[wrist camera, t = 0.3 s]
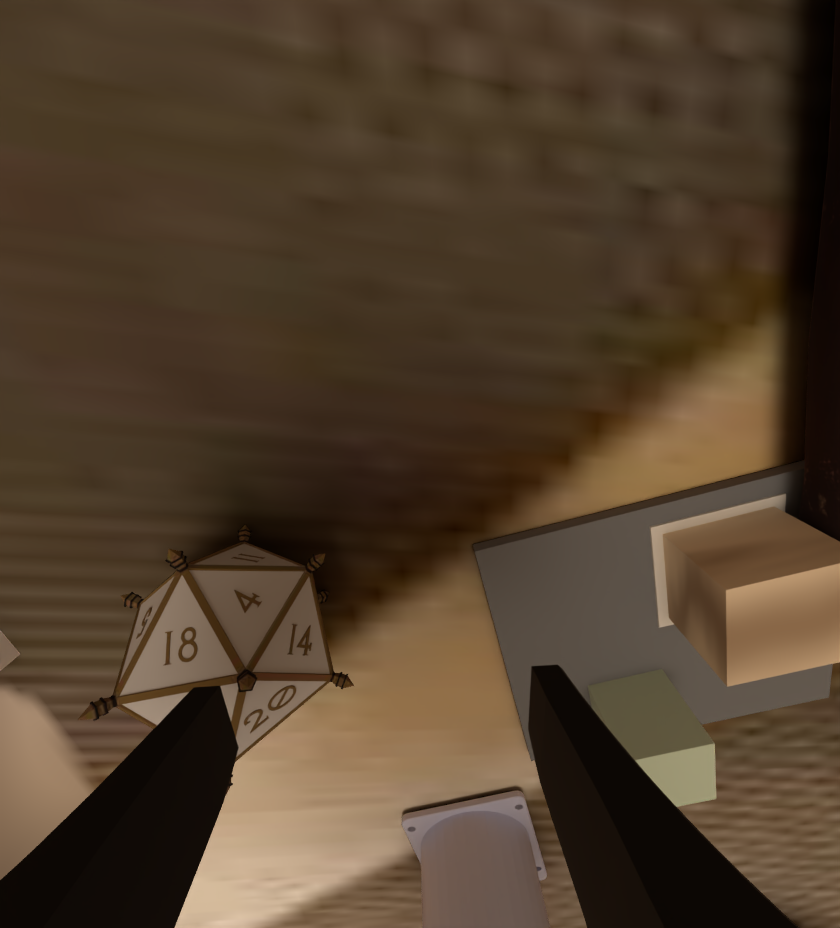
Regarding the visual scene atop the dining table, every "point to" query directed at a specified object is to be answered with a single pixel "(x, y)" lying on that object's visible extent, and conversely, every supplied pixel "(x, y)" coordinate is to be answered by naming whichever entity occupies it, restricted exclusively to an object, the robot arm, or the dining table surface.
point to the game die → (227, 640)
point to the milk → (6, 651)
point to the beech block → (755, 594)
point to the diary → (825, 344)
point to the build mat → (627, 599)
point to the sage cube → (659, 734)
